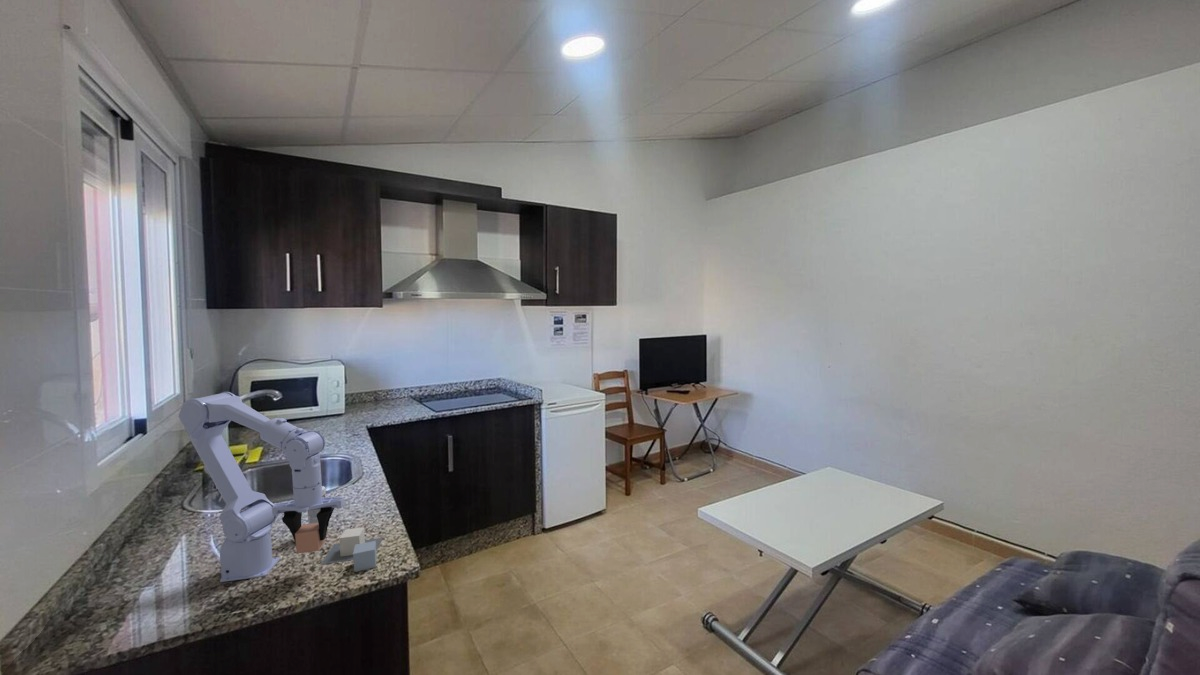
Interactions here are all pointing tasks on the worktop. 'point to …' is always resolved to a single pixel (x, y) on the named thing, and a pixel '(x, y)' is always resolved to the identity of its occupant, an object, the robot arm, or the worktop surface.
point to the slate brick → (364, 556)
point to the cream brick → (351, 540)
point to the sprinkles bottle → (315, 511)
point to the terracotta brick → (308, 538)
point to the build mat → (335, 556)
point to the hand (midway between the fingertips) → (310, 539)
